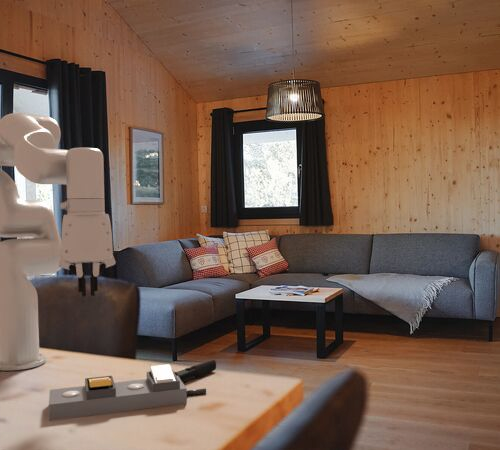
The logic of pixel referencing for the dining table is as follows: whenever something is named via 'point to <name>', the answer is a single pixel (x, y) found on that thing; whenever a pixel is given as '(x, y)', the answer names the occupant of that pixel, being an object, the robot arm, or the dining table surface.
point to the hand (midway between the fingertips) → (88, 294)
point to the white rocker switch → (162, 373)
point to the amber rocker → (100, 382)
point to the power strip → (116, 397)
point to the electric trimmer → (196, 371)
